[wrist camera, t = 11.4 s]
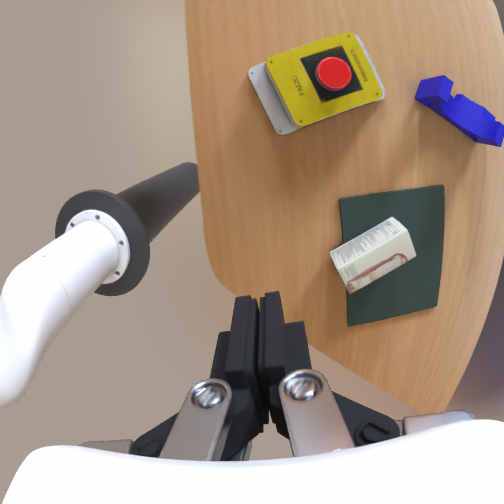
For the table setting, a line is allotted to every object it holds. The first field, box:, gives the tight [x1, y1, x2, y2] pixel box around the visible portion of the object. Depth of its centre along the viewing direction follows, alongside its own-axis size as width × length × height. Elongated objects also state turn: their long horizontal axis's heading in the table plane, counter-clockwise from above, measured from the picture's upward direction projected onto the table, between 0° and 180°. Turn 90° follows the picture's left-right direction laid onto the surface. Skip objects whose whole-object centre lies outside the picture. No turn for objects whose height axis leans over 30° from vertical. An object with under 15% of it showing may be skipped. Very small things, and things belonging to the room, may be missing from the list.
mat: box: [339, 185, 445, 327], centre depth 39 cm, size 16×20×1 cm
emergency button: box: [248, 32, 386, 135], centre depth 28 cm, size 9×4×15 cm
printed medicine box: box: [329, 217, 416, 294], centre depth 36 cm, size 5×4×10 cm
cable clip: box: [415, 75, 504, 147], centre depth 27 cm, size 12×4×6 cm, turn 70°
